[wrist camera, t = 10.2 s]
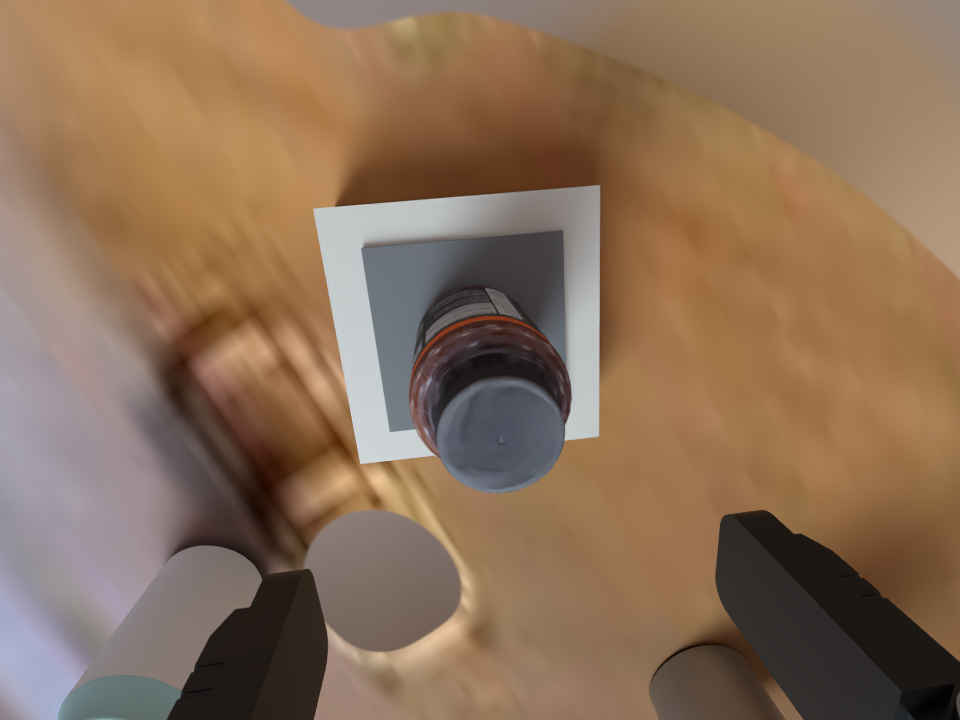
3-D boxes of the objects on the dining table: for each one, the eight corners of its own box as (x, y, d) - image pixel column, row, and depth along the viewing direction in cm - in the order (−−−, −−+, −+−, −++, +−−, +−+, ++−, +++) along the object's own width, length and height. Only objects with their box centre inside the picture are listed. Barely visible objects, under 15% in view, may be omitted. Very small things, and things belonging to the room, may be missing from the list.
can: (190, 523, 33) (62, 691, 22) (283, 564, 35) (210, 739, 24) (148, 592, 35) (10, 783, 23) (240, 628, 36) (152, 821, 25)
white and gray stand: (575, 402, 33) (601, 439, 28) (371, 424, 32) (359, 467, 27) (572, 187, 28) (602, 184, 23) (334, 207, 27) (310, 208, 22)
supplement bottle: (535, 380, 26) (604, 506, 15) (428, 399, 26) (423, 540, 15) (522, 272, 24) (591, 331, 13) (406, 291, 24) (382, 367, 13)
